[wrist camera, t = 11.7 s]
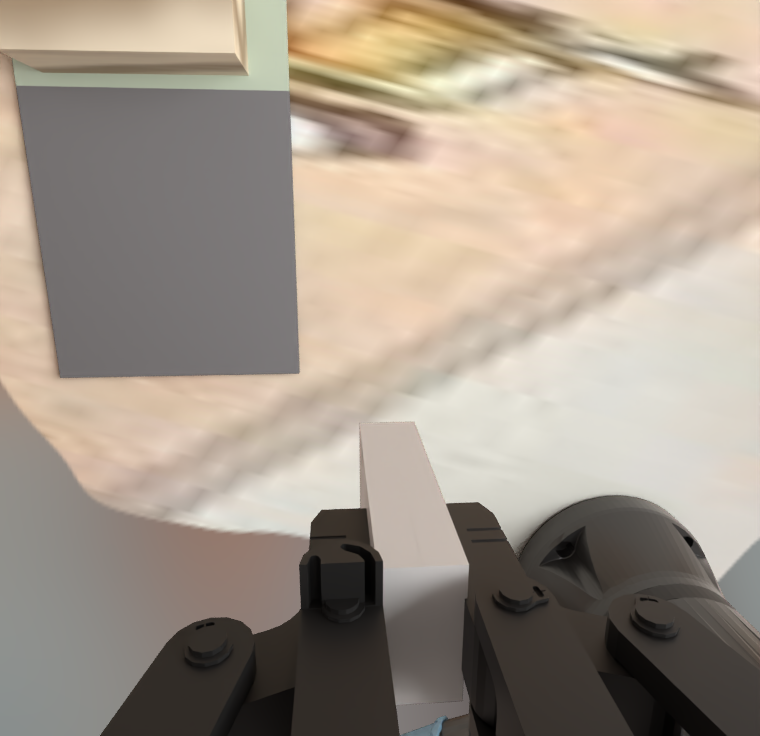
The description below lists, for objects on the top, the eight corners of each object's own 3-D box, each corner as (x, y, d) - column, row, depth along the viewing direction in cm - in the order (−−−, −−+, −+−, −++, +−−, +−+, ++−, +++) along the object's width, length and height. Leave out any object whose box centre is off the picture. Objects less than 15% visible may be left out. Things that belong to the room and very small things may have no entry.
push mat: (299, 371, 40) (296, 384, 37) (63, 376, 39) (41, 389, 36) (277, -252, 31) (271, -301, 28) (-35, -272, 29) (-75, -325, 26)
